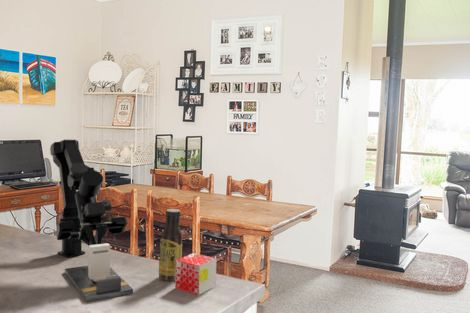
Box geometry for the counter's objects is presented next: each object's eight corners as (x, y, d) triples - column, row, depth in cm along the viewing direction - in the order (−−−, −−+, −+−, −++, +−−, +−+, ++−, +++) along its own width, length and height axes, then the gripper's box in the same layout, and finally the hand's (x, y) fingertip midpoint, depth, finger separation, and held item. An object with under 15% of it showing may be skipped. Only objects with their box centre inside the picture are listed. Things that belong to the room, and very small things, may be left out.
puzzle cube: (198, 295, 124) (199, 265, 124) (175, 288, 128) (175, 259, 128) (215, 286, 131) (216, 258, 130) (192, 280, 135) (193, 253, 135)
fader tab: (88, 279, 128) (88, 245, 128) (107, 276, 131) (107, 242, 130) (90, 282, 126) (91, 247, 125) (110, 279, 129) (110, 245, 128)
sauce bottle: (154, 279, 135) (155, 210, 133) (167, 273, 140) (168, 206, 138) (173, 283, 132) (174, 213, 130) (185, 277, 137) (187, 209, 135)
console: (64, 272, 137) (64, 258, 137) (105, 267, 144) (105, 253, 143) (86, 301, 117) (86, 285, 117) (133, 293, 123) (133, 277, 123)
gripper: (58, 192, 127) (67, 242, 119) (125, 188, 137) (138, 234, 129) (52, 215, 135) (60, 264, 126) (116, 210, 145) (128, 255, 136)
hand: (98, 253), depth 129 cm, fingers closed
